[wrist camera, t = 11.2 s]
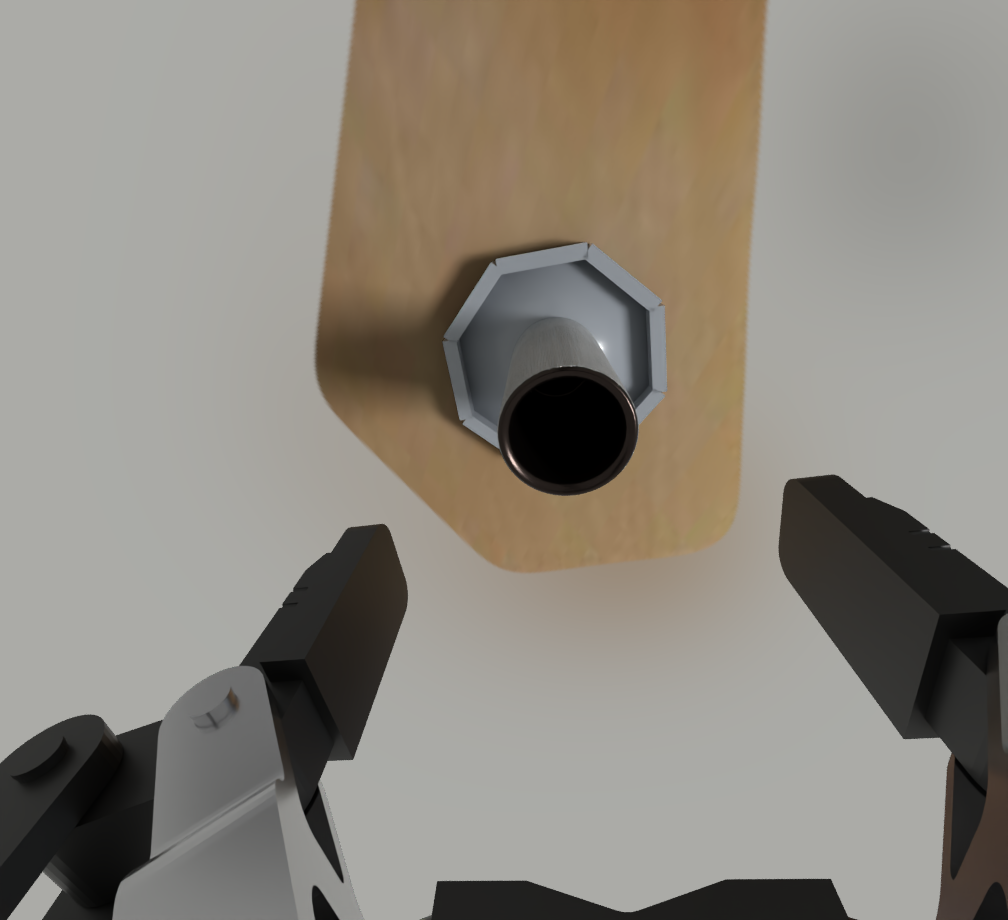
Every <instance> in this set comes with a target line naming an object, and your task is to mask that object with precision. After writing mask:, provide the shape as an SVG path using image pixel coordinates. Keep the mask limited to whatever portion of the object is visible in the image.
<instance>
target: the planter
mask: <svg viewBox="0 0 1008 920" xmlns="http://www.w3.org/2000/svg"><path fill="white" fill-rule="evenodd" d="M638 431H639V425H638V417H637V413H636V409H635V407H634V404H633V402H632V400H631V398H630V396H629V394H628V393H627V391H626V389H625V388H624V386H623V384H622V383H621V381H620V379H619V378H618V376H617V374H616V373H615V371H614V369H613V368H612V366H611V364H610V363H609V361H608V359H607V358H606V356H605V354H604V353H603V351H602V349H601V348H600V346H599V344H598V343H597V341H596V339H595V338H594V336H593V335H592V334H591V333H590V331H589V330H588V329H586V328H585V327H584V326H583V325H581V324H580V323H578V322H576V321H574V320H572V319H568V318H563V317H552V318H546V319H543V320H540V321H538V322H536V323H534V324H533V325H531V326H530V327H529V328H528V329H527V330H525V332H524V333H523V334H522V335H521V336H520V338H519V340H518V341H517V343H516V345H515V348H514V350H513V354H512V359H511V363H510V368H509V373H508V377H507V382H506V387H505V391H504V396H503V400H502V405H501V410H500V415H499V420H498V427H497V437H498V444H499V448H500V452H501V454H502V457H503V459H504V461H505V463H506V464H507V466H508V467H509V469H510V470H511V471H512V472H513V473H514V474H515V475H516V476H517V477H518V478H519V479H520V480H521V481H522V482H524V483H525V484H527V485H528V486H530V487H532V488H534V489H536V490H538V491H541V492H544V493H548V494H553V495H561V496H570V495H579V494H584V493H587V492H591V491H593V490H596V489H598V488H600V487H602V486H604V485H605V484H607V483H609V482H610V481H611V480H613V479H614V478H615V477H616V476H617V475H618V474H619V473H620V472H621V471H622V470H623V469H624V468H625V466H626V465H627V464H628V462H629V460H630V459H631V457H632V455H633V452H634V450H635V447H636V444H637V439H638Z"/></svg>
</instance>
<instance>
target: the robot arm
mask: <svg viewBox="0 0 1008 920" xmlns="http://www.w3.org/2000/svg"><path fill="white" fill-rule="evenodd" d="M779 557H780V562H781V566H782V569H783V571H784V574H785V575H786V577H787V579H788V580H789V582H790V583H791V585H792V586H793V587H794V589H795V590H796V591H797V593H798V594H799V596H800V597H801V598H802V600H803V601H804V603H805V604H806V605H807V607H808V608H809V609H810V611H811V612H812V613H813V615H814V616H815V618H816V619H817V620H818V622H819V623H820V624H821V626H822V627H823V629H824V630H825V631H826V633H827V634H828V635H829V637H830V638H831V640H832V641H833V642H834V644H835V645H836V646H837V648H838V649H839V651H840V652H841V653H842V655H843V656H844V657H845V659H846V660H847V662H848V663H849V664H850V666H851V667H852V669H853V670H854V671H855V673H856V674H857V675H858V677H859V678H860V679H861V681H862V682H863V684H864V685H865V686H866V688H867V689H868V691H869V692H870V693H871V695H872V696H873V697H874V699H875V700H876V702H877V703H878V704H879V706H880V707H881V708H882V710H883V711H884V713H885V714H886V715H887V716H888V718H889V719H890V721H891V722H892V723H893V725H894V726H895V728H896V729H897V730H898V732H899V733H900V735H901V736H902V737H903V739H918V738H941V739H942V741H943V742H944V743H945V744H946V746H947V747H948V748H949V749H950V751H951V752H952V753H951V756H950V759H949V762H948V766H947V777H946V797H945V815H944V816H945V817H944V834H943V852H942V871H941V888H940V899H939V906H938V912H937V916H936V920H1008V588H1007V587H1006V586H1004V585H1003V584H1002V583H1000V582H999V581H997V580H996V579H995V578H994V577H992V576H991V575H990V574H988V573H987V572H986V571H984V570H983V569H982V568H980V567H979V566H978V565H976V564H975V563H974V562H972V561H971V560H970V559H968V558H967V557H966V556H964V555H963V554H962V553H960V552H959V551H957V550H956V549H951V548H950V544H948V543H947V542H945V541H944V540H943V539H941V538H940V537H939V536H938V535H936V534H935V533H930V532H929V529H928V528H927V527H925V526H924V525H923V524H921V523H920V522H919V521H917V520H916V519H915V518H913V517H912V516H911V515H909V514H908V513H907V512H905V511H903V510H901V509H899V508H896V507H894V506H892V505H889V504H887V503H884V502H882V501H880V500H877V499H875V498H873V497H870V498H866V497H864V496H863V495H862V494H861V493H859V492H858V491H857V490H855V489H854V488H853V487H852V486H851V485H849V484H848V483H847V482H845V481H844V480H843V479H842V478H840V477H839V476H836V475H824V476H816V477H807V478H797V479H790V480H789V481H788V482H787V483H786V485H785V488H784V493H783V504H782V515H781V526H780V537H779ZM407 601H408V590H407V584H406V579H405V576H404V573H403V570H402V567H401V564H400V561H399V558H398V555H397V551H396V548H395V545H394V542H393V539H392V536H391V533H390V531H389V529H388V527H387V526H386V525H384V524H377V525H368V526H359V527H351V528H348V529H347V530H346V531H345V532H344V534H343V535H342V537H341V538H340V540H339V541H338V543H337V545H336V546H335V548H334V549H333V551H332V552H331V553H326V554H325V555H323V556H322V557H321V558H320V559H319V560H317V561H316V562H315V563H314V564H313V565H311V566H310V567H309V568H308V569H307V570H306V571H305V572H304V574H303V575H302V577H301V578H300V579H299V581H298V582H297V584H296V585H295V587H294V588H293V592H291V593H290V594H289V595H288V597H287V598H286V600H285V601H284V602H283V607H282V608H279V609H278V611H277V612H276V614H275V615H274V617H273V618H272V620H271V621H270V622H269V624H268V625H267V627H266V628H265V630H264V631H263V632H262V634H261V636H260V637H259V638H258V640H257V641H256V643H255V644H254V645H253V647H252V648H251V650H250V651H249V653H248V654H247V655H246V657H245V658H244V660H243V661H242V663H241V664H240V665H239V666H237V667H232V668H228V669H225V670H222V671H219V672H217V673H215V674H213V675H211V676H209V677H207V678H206V679H204V680H202V681H201V682H199V683H198V684H196V685H195V686H193V687H192V688H191V689H190V690H189V691H187V692H186V693H185V694H184V695H183V696H182V697H180V698H179V700H178V701H177V702H176V703H175V704H174V705H173V706H172V707H171V709H170V710H169V711H168V713H167V714H166V716H165V718H164V719H163V720H161V721H158V722H155V723H152V724H149V725H146V726H143V727H140V728H137V729H134V730H131V731H128V732H125V733H122V734H120V735H116V736H115V735H114V733H113V732H112V731H111V730H110V728H109V727H108V726H107V724H106V723H105V722H104V721H103V719H102V718H101V717H99V716H96V715H82V716H77V717H73V718H70V719H67V720H65V721H62V722H60V723H58V724H56V725H54V726H52V727H50V728H48V729H46V730H44V731H43V732H41V733H39V734H38V735H36V736H34V737H33V738H31V739H30V740H28V741H27V742H25V743H24V744H23V745H21V746H20V747H19V748H17V749H16V750H15V751H14V752H13V753H11V754H10V755H9V756H8V757H7V758H6V759H5V760H4V761H3V762H1V763H0V920H7V919H8V917H9V916H10V915H11V913H12V912H13V911H14V909H15V908H16V907H17V905H18V904H19V902H20V901H21V900H22V898H23V897H24V896H25V894H26V893H27V892H28V890H29V889H30V887H31V886H32V885H33V884H34V882H35V881H36V879H37V878H38V877H39V875H40V874H41V873H42V871H43V872H44V873H45V874H46V875H47V876H48V877H49V878H50V879H51V880H53V882H55V883H56V884H57V885H58V886H59V887H60V888H61V889H62V891H61V893H60V894H59V896H58V897H57V899H56V900H55V902H54V903H53V905H52V906H51V908H50V909H49V910H48V912H47V914H46V915H45V916H44V918H43V919H42V920H364V918H363V915H362V913H361V911H360V908H359V905H358V903H357V900H356V897H355V894H354V891H353V887H352V884H351V880H350V877H349V874H348V870H347V866H346V863H345V859H344V856H343V853H342V849H341V845H340V842H339V838H338V835H337V831H336V828H335V824H334V821H333V818H332V814H331V811H330V807H329V803H328V800H327V797H326V793H325V790H324V787H323V785H322V783H321V781H320V778H321V775H322V773H323V770H324V768H325V765H326V763H327V761H335V760H353V758H354V756H355V753H356V750H357V747H358V744H359V742H360V739H361V736H362V733H363V730H364V727H365V725H366V721H367V719H368V716H369V713H370V711H371V708H372V705H373V702H374V699H375V697H376V694H377V691H378V688H379V685H380V682H381V680H382V677H383V674H384V671H385V668H386V665H387V662H388V660H389V657H390V654H391V651H392V648H393V646H394V643H395V640H396V637H397V634H398V632H399V629H400V626H401V623H402V620H403V617H404V615H405V612H406V608H407ZM420 920H857V919H853V918H850V917H848V916H847V914H846V911H845V909H844V907H843V905H842V903H841V901H840V898H839V896H838V894H837V892H836V889H835V887H834V885H833V883H832V881H831V879H734V880H723V881H720V882H718V883H715V884H712V885H709V886H706V887H704V888H701V889H698V890H695V891H692V892H689V893H687V894H684V895H681V896H678V897H675V898H673V899H670V900H667V901H664V902H661V903H659V904H656V905H653V906H650V907H647V908H645V909H642V910H639V911H635V912H620V911H616V910H613V909H610V908H607V907H604V906H601V905H598V904H594V903H591V902H589V901H586V900H583V899H580V898H577V897H574V896H571V895H568V894H564V893H562V892H559V891H556V890H553V889H550V888H546V887H544V886H541V885H538V884H534V883H532V882H529V881H438V882H437V886H436V893H435V899H434V906H433V911H432V915H431V916H428V917H425V918H422V919H420Z"/></svg>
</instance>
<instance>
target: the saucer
mask: <svg viewBox="0 0 1008 920" xmlns="http://www.w3.org/2000/svg"><path fill="white" fill-rule="evenodd" d="M661 302H662V300H661V299H660V298H658V297H657V296H656V295H655V294H654V293H652V292H651V291H650V290H649V289H647V288H646V287H645V286H644V285H643V284H641V283H640V282H639V281H638V280H636V279H635V278H634V277H633V276H632V275H630V274H629V273H628V272H627V271H625V270H624V269H623V268H622V267H621V266H619V265H618V264H617V263H616V262H615V261H613V260H612V259H611V258H610V257H608V256H607V255H606V254H605V253H604V252H602V251H601V250H600V249H599V248H597V247H596V246H595V245H594V244H589V245H588V246H587V242H583V243H577V244H572V245H567V246H561V247H556V248H550V249H545V250H540V251H534V252H529V253H523V254H518V255H513V256H507V257H502V258H497V259H496V263H495V262H494V261H493V262H491V263H490V265H489V266H488V268H487V269H486V271H485V272H484V274H483V276H482V277H481V279H480V280H479V282H478V283H477V285H476V286H475V288H474V290H473V291H472V293H471V294H470V296H469V297H468V299H467V300H466V302H465V304H464V305H463V307H462V308H461V310H460V311H459V313H458V315H457V316H456V318H455V319H454V321H453V322H452V324H451V325H450V327H449V329H448V330H447V332H446V333H445V335H444V336H443V337H444V338H446V339H445V340H444V341H443V347H444V351H445V356H446V360H447V365H448V369H449V374H450V378H451V383H452V388H453V392H454V397H455V401H456V406H457V410H458V415H459V419H460V420H464V421H463V425H464V426H466V427H467V428H469V429H470V430H472V431H473V432H475V433H476V434H478V435H479V436H481V437H482V438H484V439H485V440H487V441H488V442H490V443H491V444H493V445H494V446H496V447H497V448H498V449H500V448H499V444H498V437H497V427H498V420H499V415H500V410H501V405H502V400H503V396H504V391H505V387H506V382H507V377H508V373H509V368H510V363H511V359H512V354H513V350H514V348H515V345H516V343H517V341H518V340H519V338H520V336H521V335H522V334H523V333H524V332H525V330H527V329H528V328H529V327H530V326H531V325H533V324H534V323H536V322H538V321H540V320H543V319H546V318H552V317H563V318H568V319H572V320H574V321H576V322H578V323H580V324H581V325H583V326H584V327H585V328H586V329H588V330H589V331H590V333H591V334H592V335H593V336H594V338H595V339H596V341H597V343H598V344H599V346H600V348H601V349H602V351H603V353H604V354H605V356H606V358H607V359H608V361H609V363H610V364H611V366H612V368H613V369H614V371H615V373H616V374H617V376H618V378H619V379H620V381H621V383H622V384H623V386H624V388H625V389H626V391H627V393H628V394H629V396H630V398H631V400H632V402H633V404H634V407H635V409H636V413H637V417H638V425H639V424H640V423H641V422H642V421H643V420H644V419H645V418H646V416H647V415H648V414H649V413H650V412H651V411H652V410H653V409H654V408H655V407H656V405H657V404H658V403H659V402H660V401H661V400H662V399H663V398H664V397H665V395H664V394H663V393H662V392H665V391H667V372H666V337H665V305H663V304H661Z"/></svg>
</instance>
